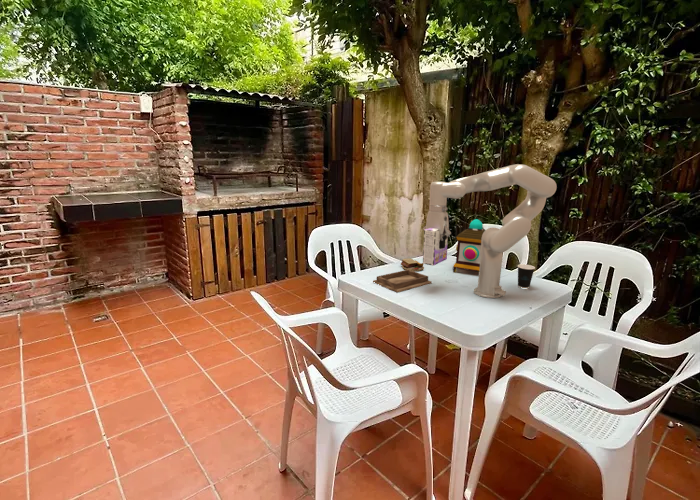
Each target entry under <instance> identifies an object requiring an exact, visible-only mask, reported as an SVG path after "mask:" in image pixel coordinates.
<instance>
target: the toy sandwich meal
mask: <svg viewBox="0 0 700 500" xmlns="http://www.w3.org/2000/svg"><path fill="white" fill-rule="evenodd" d="M400 266H401V267H402V269H403V270H411V271H414V272H421V271H423V270H424V269H425V267H424V264H423V262H422V263H420V262H419V261H418V260H415V259H413V258H408V257H407V258H403V259H402V260H401V263H400Z"/></svg>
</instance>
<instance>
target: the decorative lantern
mask: <svg viewBox="0 0 700 500" xmlns="http://www.w3.org/2000/svg"><path fill="white" fill-rule="evenodd" d="M483 224H484V223H482V221H481V220H479V219H478V218H475V219H473V220H472V221H471V222H470V223H469V227H468V228H467V229H464V230H462V231H461V232H460V233H458V234H457V236H456V240H457V244H456V245H455V246H456V247H455V250H456V258H455V262H454V264H453V267H452V272H453V273H456V272H457V270H458V269H459V270H466V271H472V272H478V273H479V269H480V259H481V238H482V235H483V233H484V231H485V230H486V229H485V228H484V226H483Z"/></svg>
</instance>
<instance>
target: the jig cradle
mask: <svg viewBox="0 0 700 500" xmlns="http://www.w3.org/2000/svg"><path fill="white" fill-rule="evenodd" d="M373 282H375V283H377V284H376V285H378V284H379V285H378V286H380V285H381V287H383V288H386V289H387V290H389V291H392V292H394V293H396V294H398V293H401V292H405V291H409V290H413V289H416V288H420V287H421V288H422V287H424V286H427V285H431V284H432V282H433V281H431V280H429V275H426V274H422V273H420V272H418V271H411V270H405V269H403V270H400V271H396V272H391V273H386V274H382V275H378V276H376V279H373V280H372V283H373ZM375 283H374V284H375Z"/></svg>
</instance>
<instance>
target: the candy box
mask: <svg viewBox="0 0 700 500" xmlns="http://www.w3.org/2000/svg"><path fill="white" fill-rule="evenodd" d="M445 235H446V234H445ZM442 236H443V235H442ZM448 239H449V237H448V238H447V239H446V240H445V248H443V249H440V248H439V243H440V240H441V239H440V234H439V230H438V229H435V228H428V229H425V230H423V253H422V263H423V265H427V266H432V267H433V266H435V265H438V264H440V263H443V262H444V261H446V260H447V259H448V245H449V244H448V242H449V241H448Z"/></svg>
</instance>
